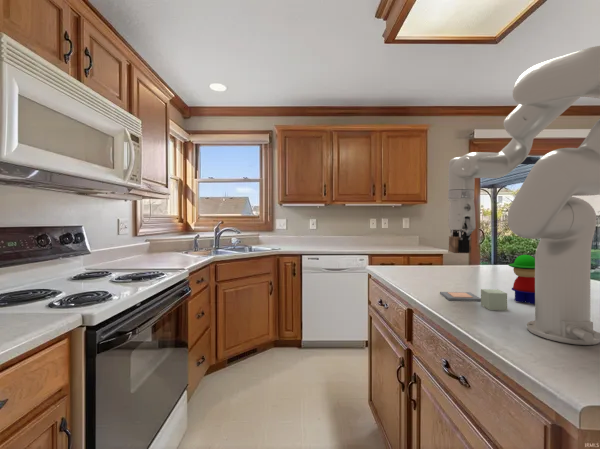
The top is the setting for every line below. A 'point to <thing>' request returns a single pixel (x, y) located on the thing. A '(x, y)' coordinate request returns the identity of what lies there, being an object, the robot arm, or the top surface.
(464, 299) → the slate board
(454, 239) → the walnut block
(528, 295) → the toy
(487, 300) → the sage block
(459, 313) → the top surface
